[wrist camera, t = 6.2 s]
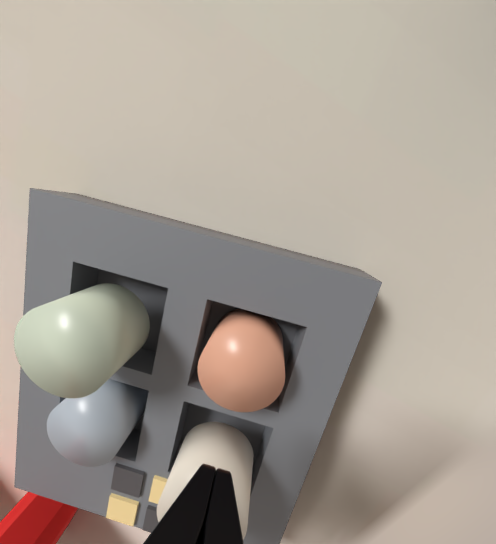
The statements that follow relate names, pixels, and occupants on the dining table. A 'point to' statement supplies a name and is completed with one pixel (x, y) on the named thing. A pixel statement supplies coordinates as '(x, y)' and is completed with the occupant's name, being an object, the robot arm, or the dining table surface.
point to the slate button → (96, 423)
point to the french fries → (36, 521)
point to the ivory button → (212, 464)
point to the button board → (188, 352)
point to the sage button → (81, 339)
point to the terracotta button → (243, 362)
